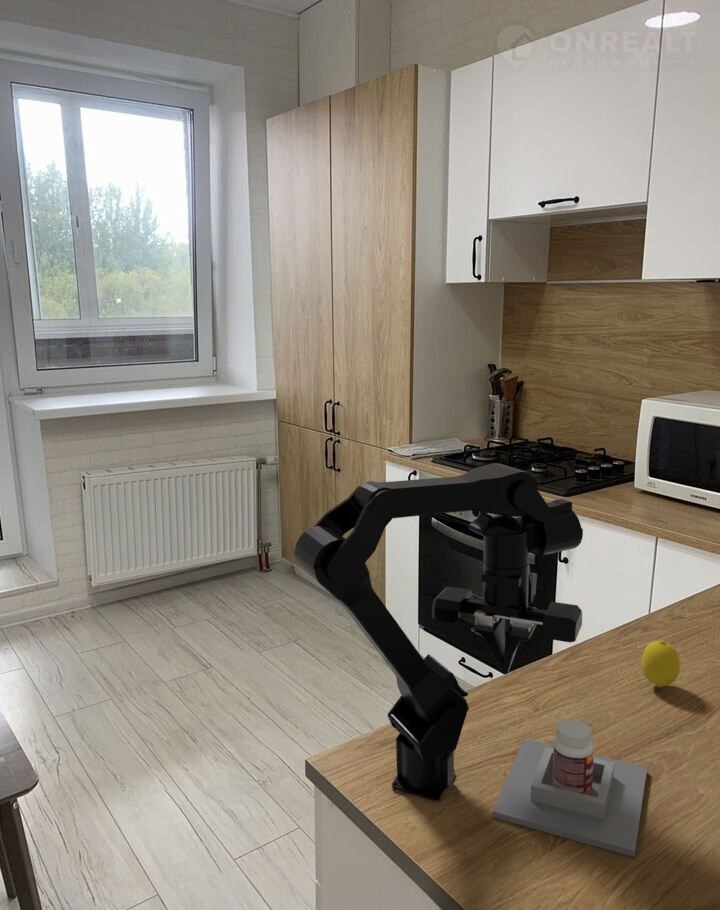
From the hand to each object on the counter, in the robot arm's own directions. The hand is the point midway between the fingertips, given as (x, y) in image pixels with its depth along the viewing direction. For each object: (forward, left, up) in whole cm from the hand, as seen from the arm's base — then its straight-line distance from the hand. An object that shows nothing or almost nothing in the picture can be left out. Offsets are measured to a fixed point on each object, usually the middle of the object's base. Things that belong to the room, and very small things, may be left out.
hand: (505, 672), depth 96 cm
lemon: (+18, +26, -12) cm, 34 cm away
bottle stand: (+10, -5, -12) cm, 16 cm away
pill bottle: (+10, -5, -11) cm, 16 cm away
